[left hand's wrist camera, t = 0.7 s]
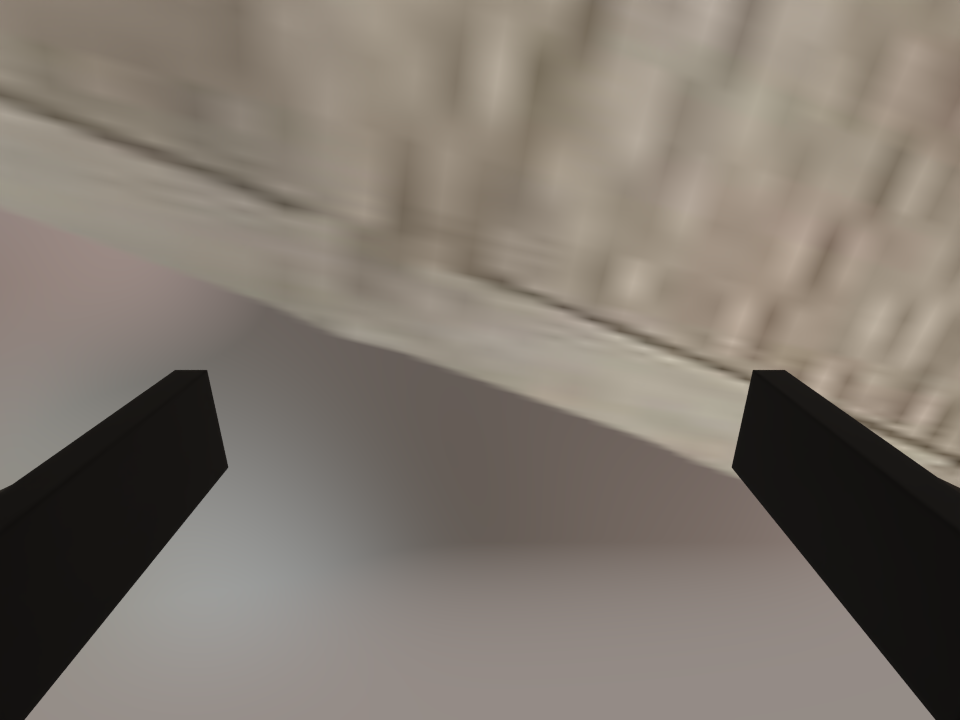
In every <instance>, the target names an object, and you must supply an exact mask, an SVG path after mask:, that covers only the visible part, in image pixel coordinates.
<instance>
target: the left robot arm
mask: <svg viewBox="0 0 960 720" xmlns="http://www.w3.org/2000/svg"><path fill="white" fill-rule="evenodd" d="M227 468H228V464H227V459H226V455H225V450H224V446H223V441H222V436H221V432H220V427H219V423H218V418H217V414H216V409H215V404H214V400H213V395H212V391H211V386H210V382H209V377H208V372H207V370H175V371H173V372H172V373H170V374H169V375H168V376H166V377H165V378H163V379H162V380H160V381H159V382H158V383H156V384H155V385H153V386H152V387H150V388H149V389H148V390H146V391H145V392H143V393H142V394H140V395H139V396H138V397H136V398H135V399H133V400H132V401H131V402H129V403H128V404H126V405H125V406H123V407H122V408H121V409H119V410H118V411H116V412H115V413H113V414H112V415H111V416H109V417H108V418H106V419H105V420H104V421H102V422H101V423H99V424H98V425H96V426H95V427H94V428H92V429H91V430H89V431H88V432H86V433H85V434H84V435H82V436H81V437H79V438H78V439H77V440H75V441H74V442H72V443H71V444H69V445H68V446H67V447H65V448H64V449H62V450H61V451H59V452H58V453H57V454H55V455H54V456H52V457H51V458H49V459H48V460H47V461H45V462H44V463H42V464H41V465H40V466H38V467H37V468H35V469H34V470H32V471H31V472H30V473H28V474H27V475H25V476H24V477H22V478H21V479H20V480H18V481H17V482H15V483H14V484H12V485H10V486H8V487H6V488H4V489H2V490H0V720H25V718H26V717H27V716H28V715H29V713H30V712H31V711H32V710H33V708H34V707H35V706H36V705H37V704H38V702H39V701H40V700H41V699H42V697H43V696H44V695H45V694H46V692H47V691H48V690H49V689H50V687H51V686H52V685H53V684H54V682H55V681H56V680H57V679H58V678H59V676H60V675H61V674H62V673H63V671H64V670H65V669H66V668H67V666H68V665H69V664H70V663H71V661H72V660H73V659H74V658H75V657H76V655H77V654H78V653H79V652H80V650H81V649H82V648H83V647H84V645H85V644H86V643H87V642H88V640H89V639H90V638H91V637H92V635H93V634H94V633H95V632H96V631H97V629H98V628H99V627H100V626H101V624H102V623H103V622H104V621H105V619H106V618H107V617H108V616H109V614H110V613H111V612H112V611H113V609H114V608H115V607H116V606H117V604H118V603H119V602H120V601H121V600H122V598H123V597H124V596H125V595H126V593H127V592H128V591H129V590H130V588H131V587H132V586H133V585H134V583H135V582H136V581H137V580H138V579H139V577H140V576H141V575H142V574H143V572H144V571H145V570H146V569H147V567H148V566H149V565H150V564H151V562H152V561H153V560H154V559H155V557H156V556H157V555H158V554H159V552H160V551H161V550H162V549H163V548H164V546H165V545H166V544H167V543H168V541H169V540H170V539H171V538H172V536H173V535H174V534H175V533H176V532H177V530H178V529H179V528H180V527H181V525H182V524H183V523H184V522H185V520H186V519H187V518H188V517H189V515H190V514H191V513H192V512H193V510H194V509H195V508H196V507H197V505H198V504H199V503H200V502H201V501H202V499H203V498H204V497H205V496H206V494H207V493H208V492H209V491H210V489H211V488H212V487H213V486H214V484H215V483H216V482H217V481H218V480H219V478H220V477H221V476H222V475H223V473H224V472H225V471H226V470H227ZM732 468H733V470H734V471H735V472H736V473H737V475H738V476H739V477H740V478H741V480H742V481H743V482H744V483H745V484H746V486H747V487H748V488H749V489H750V491H751V492H752V493H753V494H754V496H755V497H756V498H757V499H758V501H759V502H760V503H761V504H762V505H763V507H764V508H765V509H766V510H767V512H768V513H769V514H770V515H771V517H772V518H773V519H774V520H775V522H776V523H777V524H778V525H779V527H780V528H781V529H782V530H783V531H784V533H785V534H786V535H787V536H788V538H789V539H790V540H791V541H792V543H793V544H794V545H795V546H796V548H797V549H798V550H799V551H800V552H801V554H802V555H803V556H804V557H805V559H806V560H807V561H808V562H809V564H810V565H811V566H812V567H813V569H814V570H815V571H816V572H817V574H818V575H819V576H820V577H821V579H822V580H823V581H824V582H825V583H826V585H827V586H828V587H829V588H830V590H831V591H832V592H833V593H834V595H835V596H836V597H837V598H838V600H839V601H840V602H841V603H842V604H843V606H844V607H845V608H846V609H847V611H848V612H849V613H850V614H851V616H852V617H853V618H854V619H855V621H856V622H857V623H858V624H859V625H860V627H861V628H862V629H863V631H864V632H865V633H866V634H867V635H868V637H869V638H870V639H871V640H872V642H873V643H874V644H875V645H876V647H877V648H878V649H879V650H880V652H881V653H882V654H883V655H884V657H885V658H886V659H887V660H888V661H889V663H890V664H891V665H892V666H893V668H894V669H895V670H896V671H897V673H898V674H899V675H900V676H901V678H902V679H903V680H904V681H905V683H906V684H907V685H908V686H909V687H910V689H911V690H912V691H913V692H914V694H915V695H916V696H917V697H918V699H919V700H920V701H921V702H922V704H923V705H924V706H925V707H926V709H927V710H928V711H929V712H930V713H931V715H932V716H933V717H934V718H935V720H960V488H959V487H957V486H954V485H952V484H950V483H948V482H946V481H944V480H942V479H940V478H938V477H936V476H935V475H933V474H932V473H930V472H929V471H928V470H926V469H925V468H923V467H922V466H921V465H919V464H918V463H916V462H915V461H913V460H912V459H911V458H909V457H908V456H906V455H905V454H903V453H902V452H901V451H899V450H898V449H896V448H895V447H894V446H892V445H891V444H889V443H888V442H886V441H885V440H884V439H882V438H881V437H879V436H878V435H876V434H875V433H874V432H872V431H871V430H869V429H868V428H866V427H865V426H864V425H862V424H861V423H859V422H858V421H857V420H855V419H854V418H852V417H851V416H849V415H848V414H847V413H845V412H844V411H842V410H841V409H839V408H838V407H837V406H835V405H834V404H832V403H831V402H829V401H828V400H827V399H825V398H824V397H822V396H821V395H820V394H818V393H817V392H815V391H814V390H812V389H811V388H810V387H808V386H807V385H805V384H804V383H802V382H801V381H800V380H798V379H797V378H795V377H794V376H792V375H791V374H790V373H788V372H787V371H785V370H753V372H752V377H751V381H750V386H749V391H748V395H747V400H746V404H745V409H744V414H743V418H742V423H741V427H740V432H739V436H738V441H737V446H736V450H735V455H734V459H733V464H732Z"/></svg>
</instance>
